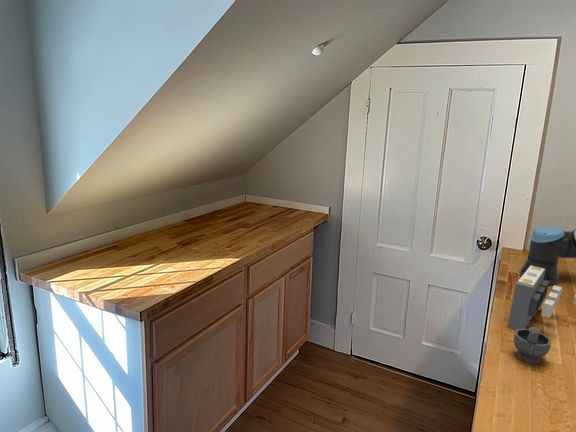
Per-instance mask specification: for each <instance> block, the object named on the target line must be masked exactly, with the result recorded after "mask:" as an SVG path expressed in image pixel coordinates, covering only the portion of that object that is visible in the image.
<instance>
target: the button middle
mask: <svg viewBox="0 0 576 432" xmlns="http://www.w3.org/2000/svg"><path fill="white" fill-rule="evenodd" d="M557 298H558V294H557V293H553V292H552V291H550V292H549V293H548V296H547V299H548V300H552V301H555V302H554V307H553V310H555V308H556V306H557V303H558V302H557Z"/></svg>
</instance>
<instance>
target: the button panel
mask: <svg viewBox="0 0 576 432" xmlns="http://www.w3.org/2000/svg"><path fill="white" fill-rule="evenodd" d="M545 270H546V269H545V268H541V267H536V266H532V265H530V267H529V268H528V269H527V270H526V272H525V273H524V274H523V275H522V277H521V276H520V278H519V279H518V280H517V282H516V283H515V287H514V292H513V296H512V297H513V298H512V303H511V308H510V313H509V317H508V322H507V328H509V329H513V330H515V331H516V330H518V329H527V327H528V325H529V324H530V322H531V320H532V318H533V317H536V315H537V313H538V310H539V309H540V308H541V306H542V304H543V302H545V300H546V297H547V294H548V293H547V292H548V287H549V286H550V285H549V281H547V280H543V279H544V275H545Z"/></svg>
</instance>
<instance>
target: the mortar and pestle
mask: <svg viewBox="0 0 576 432" xmlns="http://www.w3.org/2000/svg"><path fill="white" fill-rule="evenodd" d="M513 343H514V346H515V347H514V348H515V349H516V350H517V353H516V357H518V358H519V359H520V360H521V361H524V362H526V363H530V364H538V363H539V364H540V362H541V361H540V360H541V357H545V356H546V355H547V354H548V353H549V351H550V349H551V346H552V339H551V338H549V337H548V336H547V335H546V334H544V333H542V332H541V330H540V329H539V328H538V327H537V326H530V327H529V329H528V328H526V329H518V330H516V329H515V332H514V335H513Z"/></svg>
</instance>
